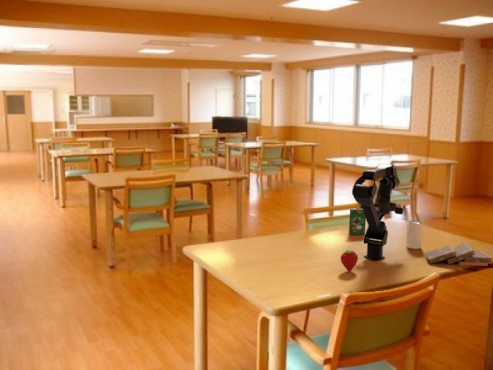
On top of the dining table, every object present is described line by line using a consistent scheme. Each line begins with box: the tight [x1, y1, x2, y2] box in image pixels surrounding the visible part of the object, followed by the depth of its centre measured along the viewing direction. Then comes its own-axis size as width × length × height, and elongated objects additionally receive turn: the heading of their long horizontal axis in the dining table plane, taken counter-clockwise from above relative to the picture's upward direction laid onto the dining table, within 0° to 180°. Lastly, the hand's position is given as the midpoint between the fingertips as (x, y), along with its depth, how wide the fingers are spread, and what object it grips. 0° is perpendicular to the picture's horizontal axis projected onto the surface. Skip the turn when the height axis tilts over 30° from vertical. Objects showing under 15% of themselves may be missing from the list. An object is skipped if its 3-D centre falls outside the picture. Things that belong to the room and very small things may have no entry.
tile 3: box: [462, 250, 493, 263], centre depth 210 cm, size 2×10×11 cm
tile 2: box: [444, 242, 475, 265], centre depth 209 cm, size 2×10×11 cm
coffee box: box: [348, 208, 367, 236], centre depth 254 cm, size 8×3×13 cm, turn 103°
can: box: [406, 220, 423, 250], centre depth 230 cm, size 6×6×12 cm
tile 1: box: [425, 244, 457, 265], centre depth 210 cm, size 2×10×11 cm
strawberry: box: [340, 246, 359, 272], centre depth 197 cm, size 6×8×10 cm
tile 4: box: [456, 260, 489, 267], centre depth 210 cm, size 2×10×11 cm
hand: (376, 224), depth 225 cm, fingers closed
